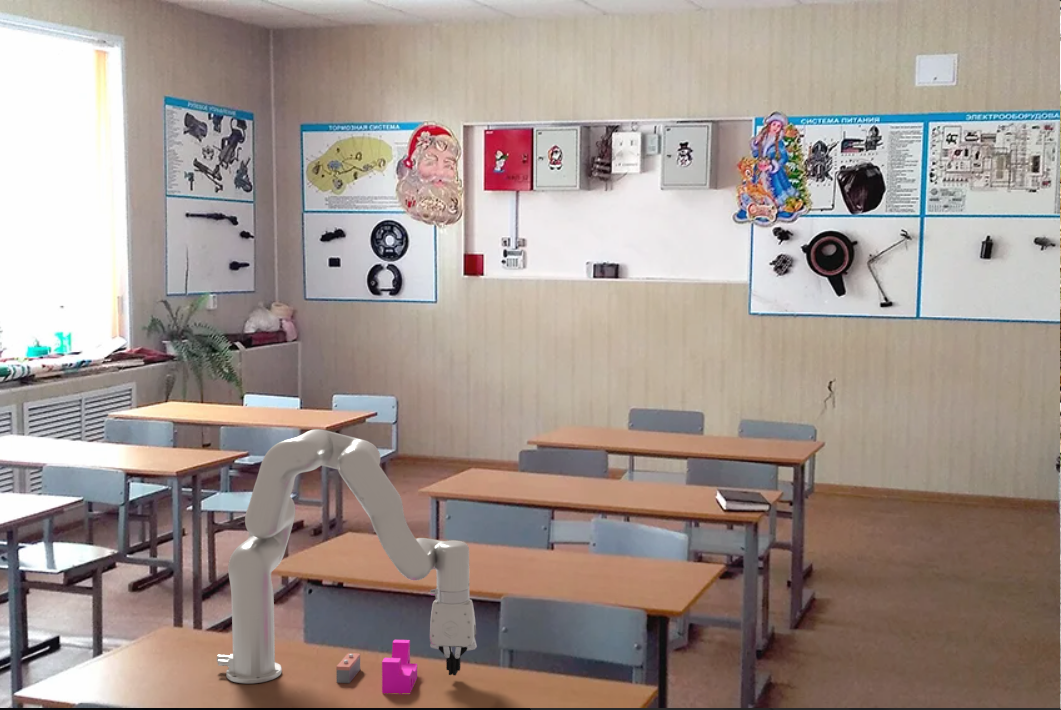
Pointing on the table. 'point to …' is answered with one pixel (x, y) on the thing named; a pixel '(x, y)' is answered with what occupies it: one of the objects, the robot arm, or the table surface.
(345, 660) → the block
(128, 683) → the table surface
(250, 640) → the robot arm
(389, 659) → the magenta curved block
